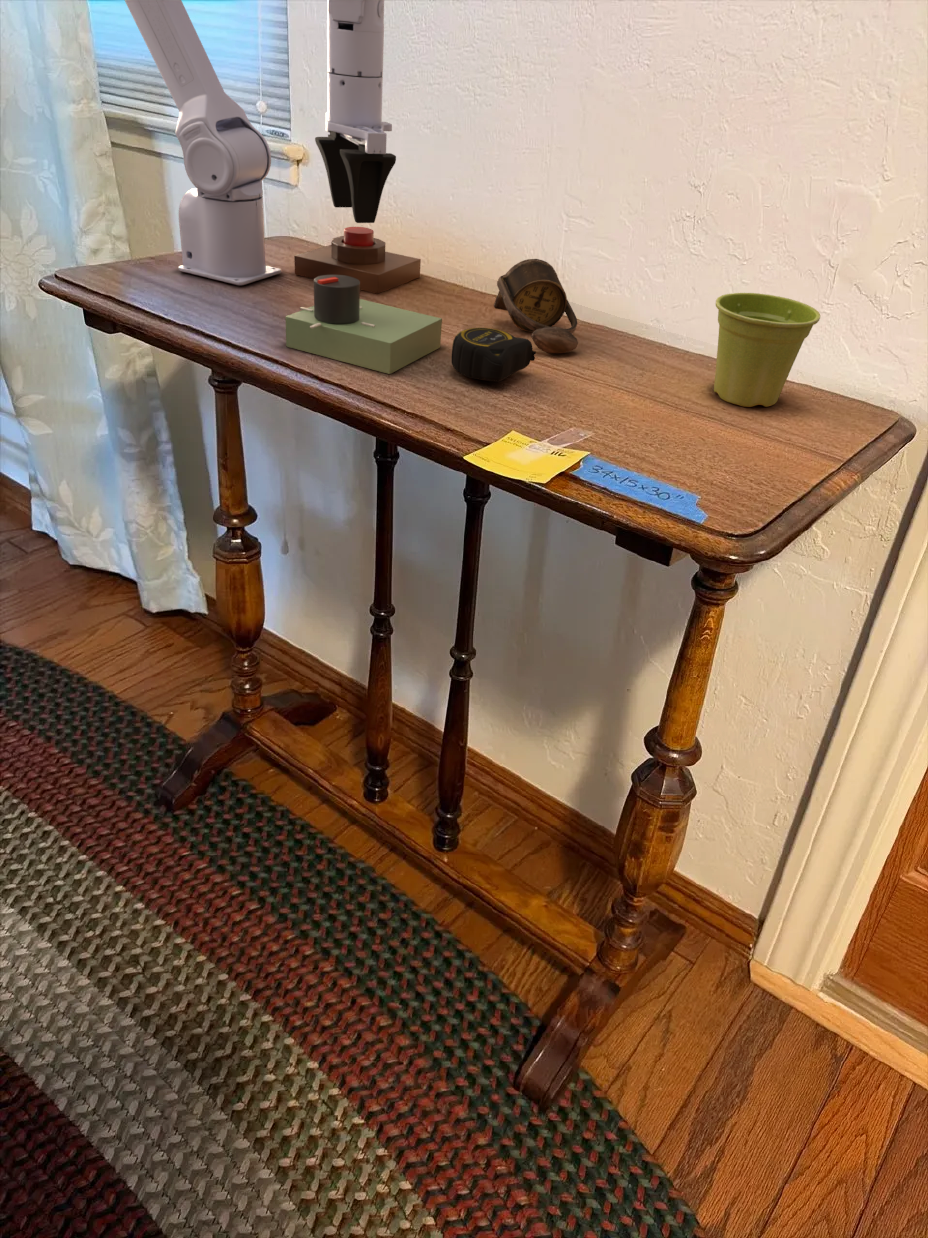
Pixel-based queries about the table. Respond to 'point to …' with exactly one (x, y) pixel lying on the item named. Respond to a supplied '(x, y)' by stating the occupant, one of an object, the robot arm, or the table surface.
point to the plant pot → (758, 345)
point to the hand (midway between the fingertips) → (353, 214)
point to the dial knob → (336, 299)
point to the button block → (359, 264)
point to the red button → (358, 236)
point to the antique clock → (537, 304)
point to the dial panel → (367, 336)
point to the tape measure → (490, 353)
